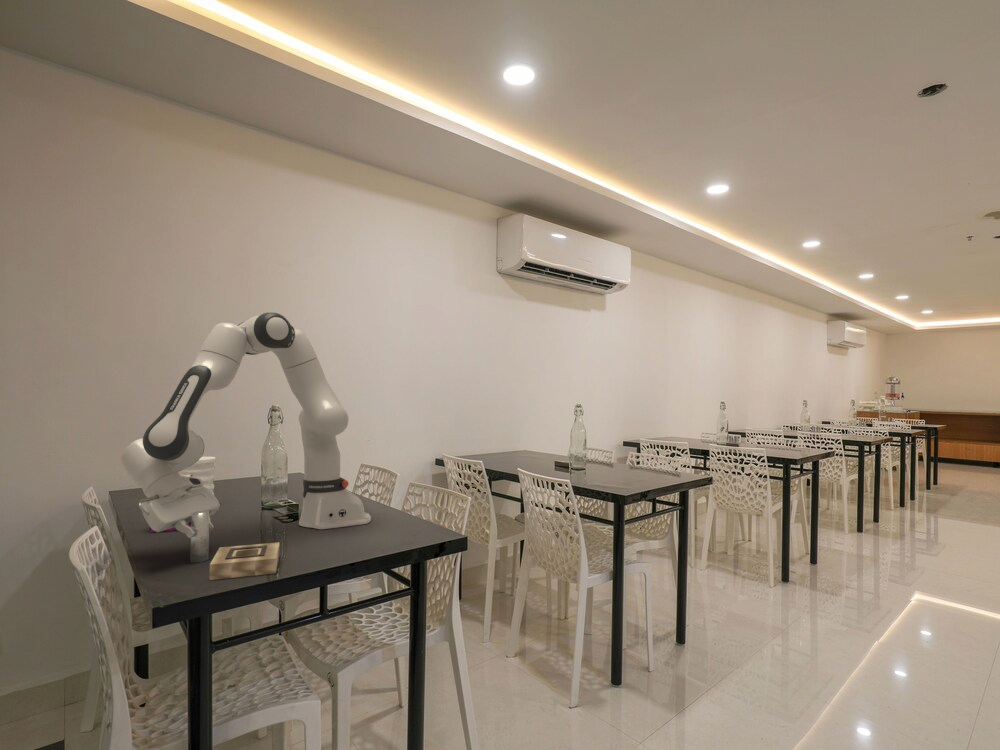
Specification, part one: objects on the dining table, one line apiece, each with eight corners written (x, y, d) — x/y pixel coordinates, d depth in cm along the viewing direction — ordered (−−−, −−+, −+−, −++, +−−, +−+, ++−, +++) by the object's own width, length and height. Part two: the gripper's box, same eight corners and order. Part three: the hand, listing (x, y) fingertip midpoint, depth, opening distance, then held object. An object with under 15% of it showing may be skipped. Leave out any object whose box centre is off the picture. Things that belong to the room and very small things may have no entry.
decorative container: (217, 509, 196) (217, 459, 196) (179, 513, 190) (180, 461, 190) (215, 503, 206) (216, 455, 206) (179, 507, 200) (180, 457, 200)
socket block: (279, 555, 142) (279, 541, 143) (275, 573, 129) (276, 557, 129) (219, 561, 138) (219, 546, 138) (209, 580, 125) (209, 563, 125)
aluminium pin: (209, 556, 142) (210, 510, 142) (206, 561, 138) (207, 513, 138) (192, 558, 140) (192, 511, 141) (188, 563, 137) (189, 514, 137)
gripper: (143, 491, 131) (178, 535, 129) (205, 477, 151) (236, 515, 149) (127, 509, 132) (161, 553, 129) (190, 493, 152) (221, 530, 149)
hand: (202, 532), depth 139 cm, fingers open, 4 cm apart
